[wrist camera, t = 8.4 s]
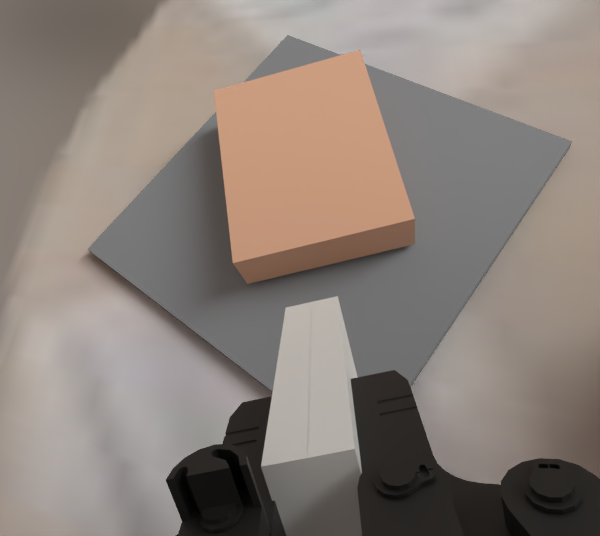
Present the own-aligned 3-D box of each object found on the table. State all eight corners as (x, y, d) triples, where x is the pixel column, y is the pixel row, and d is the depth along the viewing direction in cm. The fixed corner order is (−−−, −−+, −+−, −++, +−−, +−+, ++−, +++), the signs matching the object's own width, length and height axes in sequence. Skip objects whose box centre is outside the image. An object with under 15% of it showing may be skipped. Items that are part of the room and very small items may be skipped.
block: (249, 286, 27) (228, 122, 33) (414, 247, 26) (364, 85, 32) (232, 263, 25) (213, 90, 30) (414, 218, 24) (360, 49, 29)
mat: (289, 42, 36) (287, 35, 35) (568, 148, 28) (571, 141, 27) (93, 253, 31) (87, 249, 30) (361, 460, 23) (360, 459, 22)
